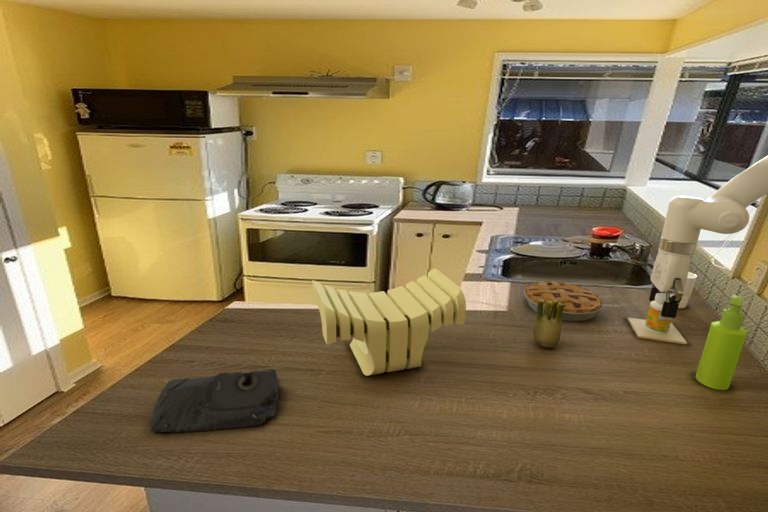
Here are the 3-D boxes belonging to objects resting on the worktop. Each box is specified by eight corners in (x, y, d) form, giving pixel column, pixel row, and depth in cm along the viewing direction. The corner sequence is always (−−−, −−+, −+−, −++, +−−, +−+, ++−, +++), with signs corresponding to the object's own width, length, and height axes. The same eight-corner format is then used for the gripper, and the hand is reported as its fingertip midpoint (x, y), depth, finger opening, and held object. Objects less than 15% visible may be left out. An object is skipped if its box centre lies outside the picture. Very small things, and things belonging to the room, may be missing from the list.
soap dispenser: (691, 383, 91) (717, 297, 85) (698, 370, 96) (723, 288, 89) (725, 395, 87) (755, 307, 81) (731, 382, 92) (759, 297, 85)
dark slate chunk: (170, 383, 86) (167, 363, 85) (281, 375, 90) (279, 355, 88) (143, 437, 72) (138, 414, 71) (275, 424, 76) (274, 402, 74)
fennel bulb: (529, 343, 105) (536, 299, 101) (539, 337, 108) (546, 294, 105) (551, 353, 101) (559, 307, 97) (561, 346, 104) (569, 301, 100)
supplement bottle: (641, 323, 116) (649, 290, 113) (663, 326, 115) (672, 293, 112) (648, 332, 111) (656, 298, 108) (671, 335, 110) (680, 301, 107)
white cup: (663, 296, 136) (670, 267, 132) (692, 304, 130) (700, 274, 127) (654, 302, 131) (661, 272, 128) (683, 311, 125) (692, 280, 122)
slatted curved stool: (327, 390, 86) (326, 310, 80) (314, 350, 100) (312, 279, 94) (460, 366, 95) (467, 293, 89) (430, 332, 109) (435, 268, 103)
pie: (534, 322, 116) (536, 306, 114) (513, 291, 137) (515, 276, 135) (615, 325, 115) (618, 309, 114) (582, 293, 136) (585, 279, 135)
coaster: (671, 325, 117) (672, 323, 116) (686, 344, 107) (687, 342, 106) (627, 319, 119) (627, 317, 119) (638, 337, 109) (638, 335, 109)
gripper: (649, 236, 114) (636, 294, 120) (672, 255, 98) (655, 321, 104) (681, 238, 112) (666, 297, 118) (709, 258, 97) (690, 325, 102)
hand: (661, 308), depth 111 cm, fingers open, 9 cm apart
